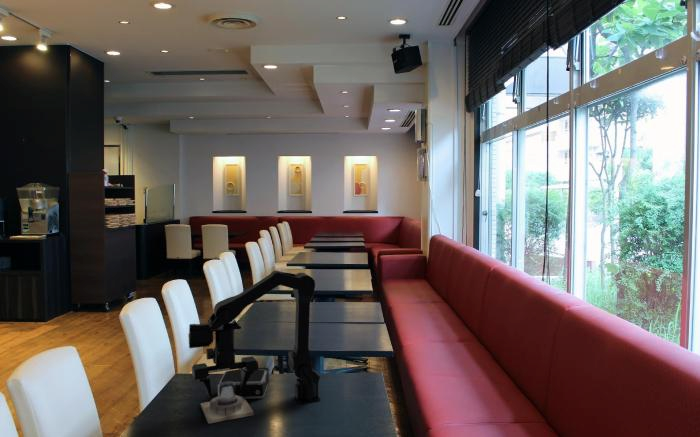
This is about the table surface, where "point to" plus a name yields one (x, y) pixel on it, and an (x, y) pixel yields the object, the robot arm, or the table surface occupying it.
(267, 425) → the table surface
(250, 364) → the robot arm
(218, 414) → the mount
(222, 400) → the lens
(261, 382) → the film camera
